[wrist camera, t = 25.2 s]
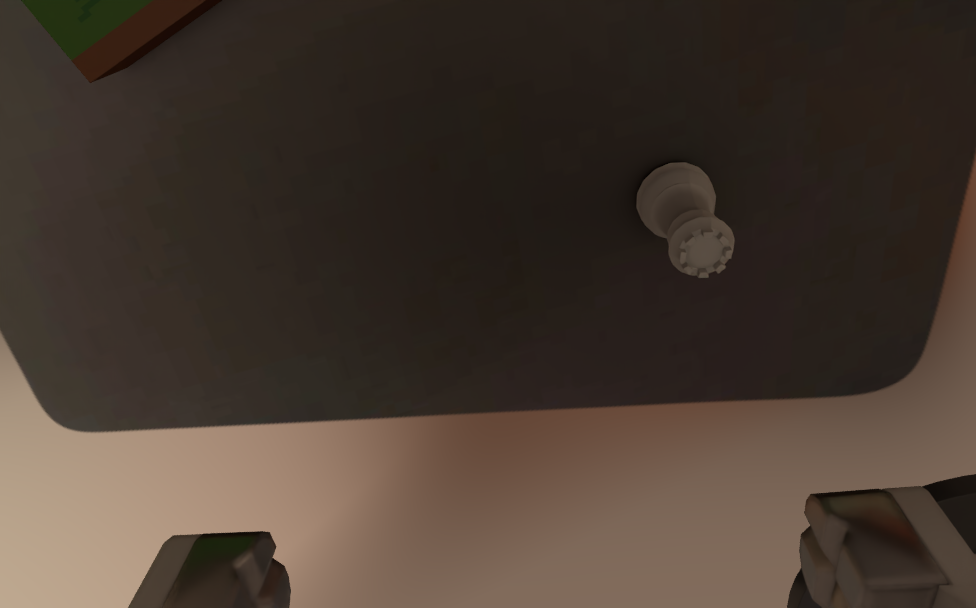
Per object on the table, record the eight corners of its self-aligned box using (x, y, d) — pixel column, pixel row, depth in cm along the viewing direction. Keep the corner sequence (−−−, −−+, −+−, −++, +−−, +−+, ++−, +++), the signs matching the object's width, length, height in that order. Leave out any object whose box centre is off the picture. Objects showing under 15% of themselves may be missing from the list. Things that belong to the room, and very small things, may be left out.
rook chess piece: (645, 154, 39) (673, 207, 32) (721, 165, 39) (765, 220, 32) (626, 225, 41) (649, 288, 34) (698, 235, 41) (735, 300, 35)
